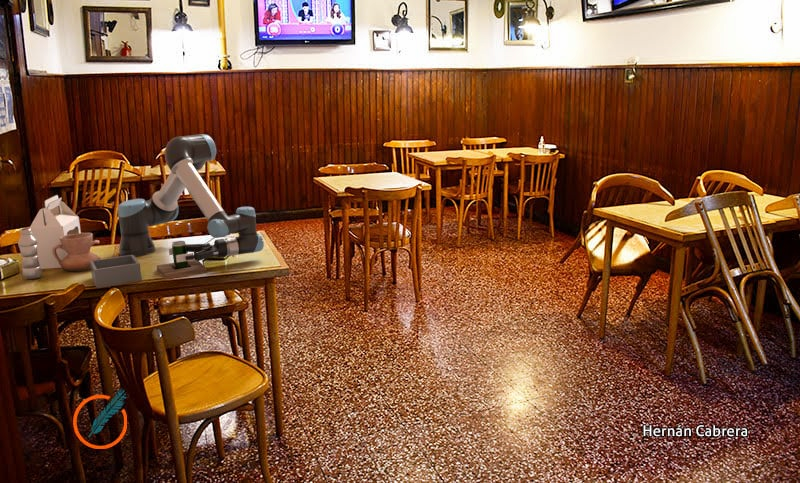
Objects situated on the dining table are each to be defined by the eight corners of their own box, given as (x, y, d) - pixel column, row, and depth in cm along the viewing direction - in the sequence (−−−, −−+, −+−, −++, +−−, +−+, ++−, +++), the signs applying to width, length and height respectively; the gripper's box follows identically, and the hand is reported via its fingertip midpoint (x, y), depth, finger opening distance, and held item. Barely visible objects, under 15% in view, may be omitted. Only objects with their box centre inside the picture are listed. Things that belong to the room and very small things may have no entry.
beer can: (176, 273, 262) (173, 244, 259) (173, 271, 266) (170, 242, 263) (190, 271, 265) (187, 242, 262) (186, 268, 269) (183, 240, 266)
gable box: (68, 267, 276) (58, 201, 269) (34, 269, 274) (24, 203, 267) (84, 254, 297) (75, 192, 291) (52, 256, 295) (43, 194, 288)
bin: (92, 277, 259) (89, 260, 258) (135, 271, 267) (133, 254, 265) (96, 288, 246) (94, 270, 244) (142, 281, 254) (139, 263, 252)
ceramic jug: (106, 262, 282) (100, 229, 279) (100, 270, 269) (95, 236, 265) (59, 267, 278) (54, 234, 274) (52, 276, 264) (46, 241, 261)
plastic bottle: (28, 276, 264) (20, 227, 259) (45, 275, 264) (38, 226, 259) (20, 281, 257) (12, 231, 253) (38, 280, 258) (30, 230, 253)
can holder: (157, 269, 268) (156, 265, 268) (197, 263, 276) (196, 259, 276) (165, 279, 255) (164, 274, 254) (206, 272, 263) (206, 267, 262)
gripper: (235, 262, 263) (180, 271, 253) (218, 250, 284) (167, 257, 274) (233, 244, 261) (178, 252, 251) (216, 233, 282) (165, 240, 272)
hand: (172, 255), depth 262 cm, fingers open, 13 cm apart
